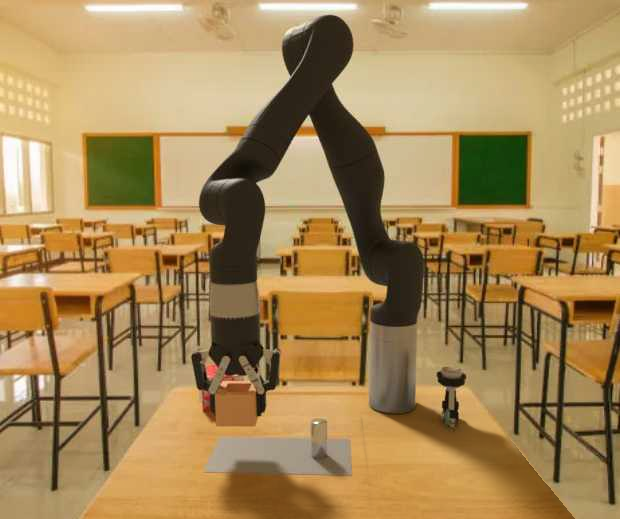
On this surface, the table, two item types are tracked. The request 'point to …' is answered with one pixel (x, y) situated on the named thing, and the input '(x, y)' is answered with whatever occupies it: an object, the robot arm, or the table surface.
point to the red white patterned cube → (211, 371)
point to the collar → (236, 404)
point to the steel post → (318, 438)
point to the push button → (451, 393)
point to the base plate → (278, 456)
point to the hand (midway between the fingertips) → (238, 414)
